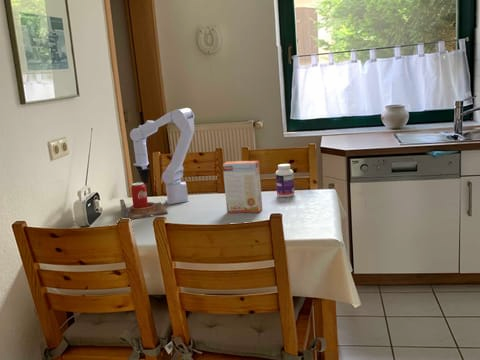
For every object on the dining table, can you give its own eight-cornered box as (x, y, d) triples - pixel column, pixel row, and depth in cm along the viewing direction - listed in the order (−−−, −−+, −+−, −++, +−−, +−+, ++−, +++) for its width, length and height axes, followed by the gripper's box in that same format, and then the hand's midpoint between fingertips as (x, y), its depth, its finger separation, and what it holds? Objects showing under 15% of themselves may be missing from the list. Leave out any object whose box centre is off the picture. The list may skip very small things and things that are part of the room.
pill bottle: (274, 195, 233) (272, 164, 230) (291, 192, 235) (289, 162, 232) (280, 199, 225) (278, 167, 222) (297, 196, 227) (295, 165, 224)
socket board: (160, 204, 233) (159, 193, 232) (167, 213, 217) (166, 202, 216) (121, 210, 228) (119, 199, 227) (125, 220, 212) (123, 209, 210)
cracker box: (262, 209, 211) (259, 160, 207) (258, 213, 206) (254, 162, 202) (231, 208, 216) (227, 160, 212) (226, 212, 211) (222, 163, 206)
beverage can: (144, 212, 218) (141, 185, 216) (131, 212, 220) (128, 185, 217) (150, 208, 224) (147, 181, 222) (137, 208, 226) (134, 182, 223)
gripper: (130, 152, 243) (134, 180, 246) (134, 156, 230) (137, 185, 232) (145, 150, 245) (148, 178, 248) (149, 154, 232) (153, 183, 234)
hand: (144, 181), depth 240 cm, fingers open, 7 cm apart
